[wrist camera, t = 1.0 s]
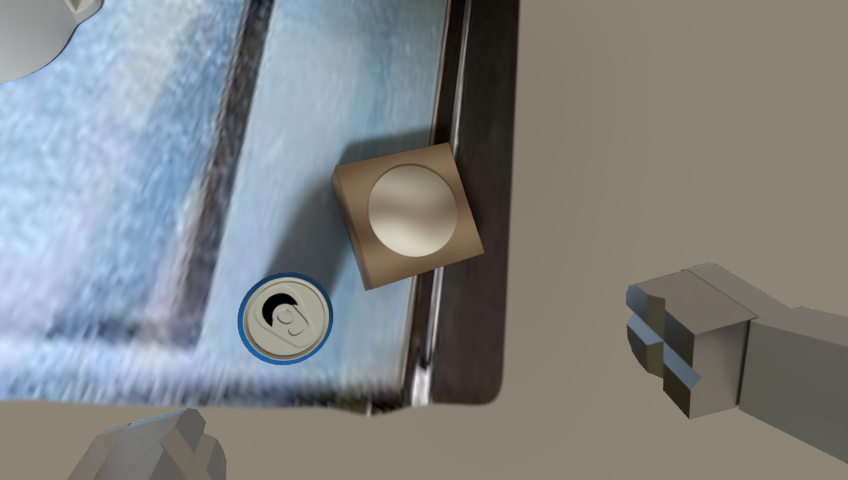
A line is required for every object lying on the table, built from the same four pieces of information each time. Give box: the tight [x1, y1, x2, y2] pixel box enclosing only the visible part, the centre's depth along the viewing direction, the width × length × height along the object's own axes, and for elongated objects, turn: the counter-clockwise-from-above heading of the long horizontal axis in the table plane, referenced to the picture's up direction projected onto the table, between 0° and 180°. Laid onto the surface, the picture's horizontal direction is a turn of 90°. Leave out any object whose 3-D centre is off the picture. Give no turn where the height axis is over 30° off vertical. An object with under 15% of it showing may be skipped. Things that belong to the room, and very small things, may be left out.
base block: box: [331, 143, 484, 291], centre depth 44 cm, size 12×12×4 cm
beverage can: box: [238, 273, 333, 365], centre depth 35 cm, size 6×6×12 cm
